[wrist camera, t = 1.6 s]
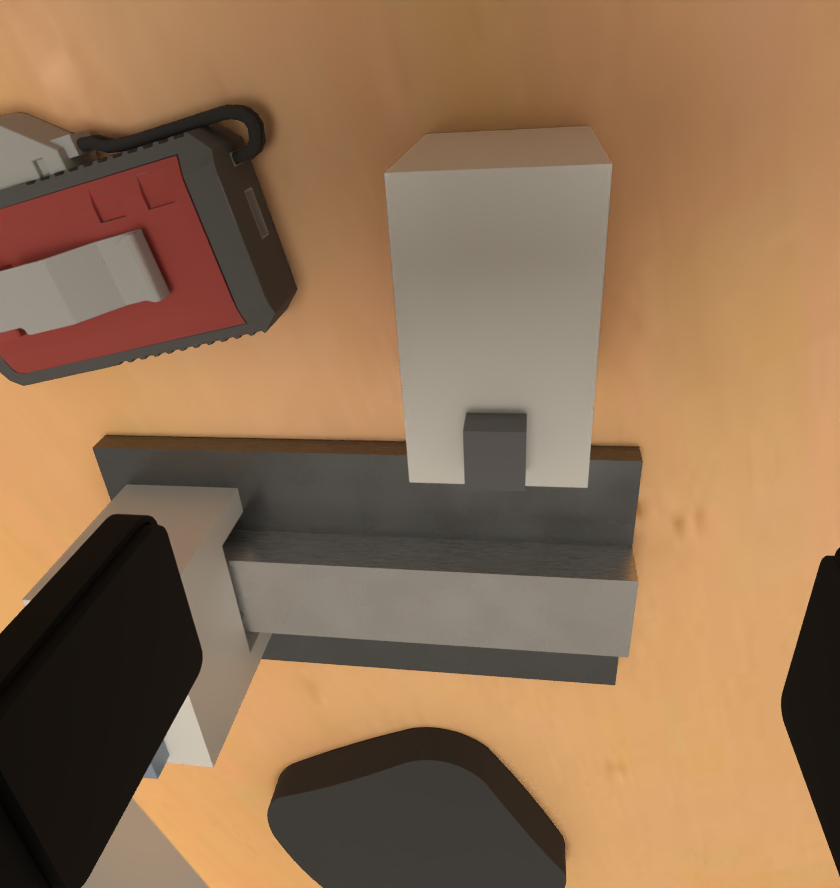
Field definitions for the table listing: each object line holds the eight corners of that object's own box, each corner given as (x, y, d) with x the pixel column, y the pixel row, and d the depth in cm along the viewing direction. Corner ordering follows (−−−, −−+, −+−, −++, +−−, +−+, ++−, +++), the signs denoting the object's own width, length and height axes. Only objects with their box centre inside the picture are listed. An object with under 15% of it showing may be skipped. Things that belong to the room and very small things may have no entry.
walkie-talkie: (245, 29, 21) (-222, 192, 26) (182, 29, 17) (-349, 220, 22) (337, 300, 25) (-83, 395, 30) (302, 347, 21) (-171, 447, 26)
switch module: (426, 133, 21) (375, 181, 15) (590, 125, 21) (617, 171, 14) (438, 383, 26) (404, 508, 19) (575, 383, 25) (589, 515, 18)
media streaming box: (461, 705, 36) (455, 757, 33) (588, 857, 41) (592, 912, 38) (253, 768, 41) (234, 817, 39) (389, 895, 46) (380, 945, 44)
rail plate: (105, 435, 29) (64, 474, 27) (638, 447, 26) (650, 492, 23) (173, 636, 35) (145, 683, 33) (612, 667, 32) (619, 722, 29)
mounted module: (126, 484, 29) (2, 621, 22) (237, 488, 28) (143, 631, 22) (174, 627, 33) (82, 778, 27) (271, 633, 33) (202, 791, 26)
